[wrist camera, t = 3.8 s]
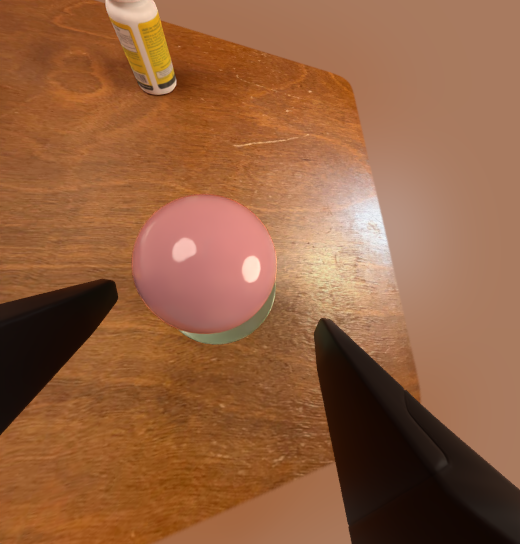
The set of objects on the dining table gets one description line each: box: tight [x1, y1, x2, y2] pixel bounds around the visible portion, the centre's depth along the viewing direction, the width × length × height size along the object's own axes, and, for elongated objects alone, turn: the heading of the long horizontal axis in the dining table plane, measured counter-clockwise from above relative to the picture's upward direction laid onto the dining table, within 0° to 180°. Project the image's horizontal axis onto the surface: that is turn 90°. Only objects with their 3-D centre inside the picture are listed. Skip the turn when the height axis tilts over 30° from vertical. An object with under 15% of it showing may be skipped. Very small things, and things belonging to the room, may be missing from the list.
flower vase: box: [131, 194, 277, 345], centre depth 10 cm, size 4×4×14 cm
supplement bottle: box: [106, 0, 176, 95], centre depth 20 cm, size 5×5×8 cm
